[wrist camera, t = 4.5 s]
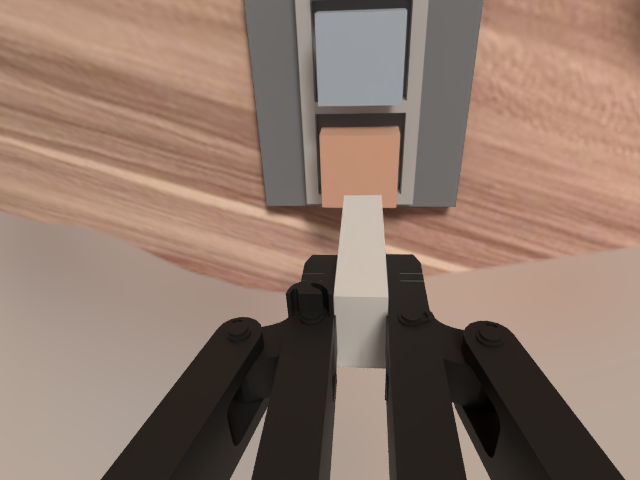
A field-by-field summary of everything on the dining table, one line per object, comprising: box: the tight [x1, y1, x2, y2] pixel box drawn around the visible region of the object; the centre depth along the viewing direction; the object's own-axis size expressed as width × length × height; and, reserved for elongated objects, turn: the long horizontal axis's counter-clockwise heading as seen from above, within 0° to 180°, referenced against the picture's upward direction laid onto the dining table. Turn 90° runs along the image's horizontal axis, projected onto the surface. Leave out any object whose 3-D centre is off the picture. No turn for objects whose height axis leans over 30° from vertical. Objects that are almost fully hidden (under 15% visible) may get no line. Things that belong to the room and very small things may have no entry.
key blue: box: [315, 8, 407, 106], centre depth 23 cm, size 4×4×2 cm
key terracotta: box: [319, 126, 400, 208], centre depth 26 cm, size 4×4×2 cm
